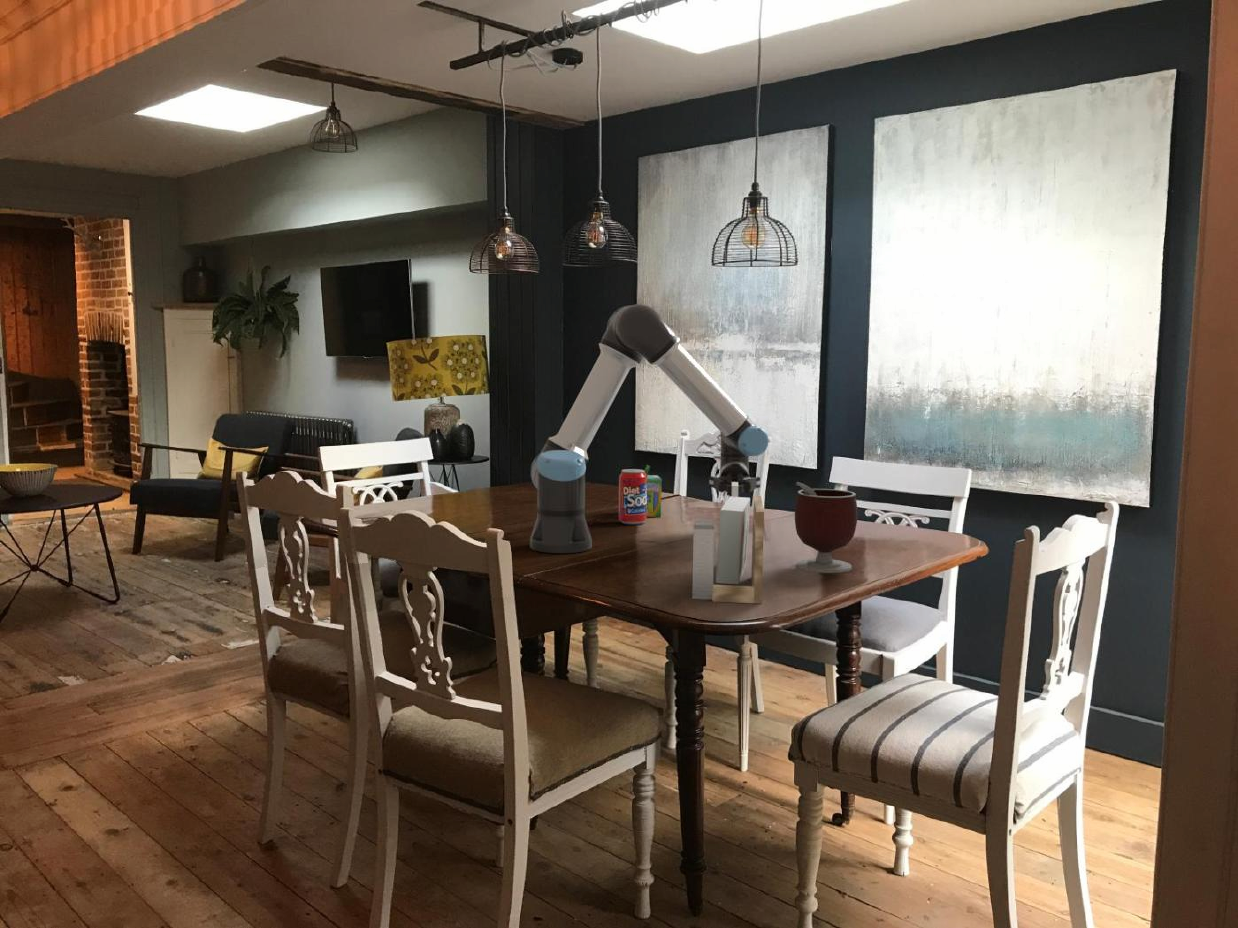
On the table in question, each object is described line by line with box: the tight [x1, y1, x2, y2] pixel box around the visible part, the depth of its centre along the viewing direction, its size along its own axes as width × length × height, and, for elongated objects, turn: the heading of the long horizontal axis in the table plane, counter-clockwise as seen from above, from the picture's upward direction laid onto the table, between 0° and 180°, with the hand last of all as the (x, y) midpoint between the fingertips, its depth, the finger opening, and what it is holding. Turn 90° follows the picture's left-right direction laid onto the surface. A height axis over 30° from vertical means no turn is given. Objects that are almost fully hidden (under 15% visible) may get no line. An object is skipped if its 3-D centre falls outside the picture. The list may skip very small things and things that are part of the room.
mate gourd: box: [794, 481, 858, 574], centre depth 226 cm, size 16×14×20 cm
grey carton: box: [691, 517, 716, 601], centre depth 200 cm, size 4×8×15 cm, turn 174°
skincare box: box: [715, 495, 751, 586], centre depth 219 cm, size 21×6×16 cm, turn 168°
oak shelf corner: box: [712, 494, 765, 604], centre depth 204 cm, size 10×22×18 cm, turn 174°
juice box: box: [644, 464, 663, 518], centre depth 294 cm, size 9×9×15 cm
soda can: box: [618, 468, 648, 526], centre depth 281 cm, size 8×8×15 cm
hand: (735, 491), depth 232 cm, fingers closed
